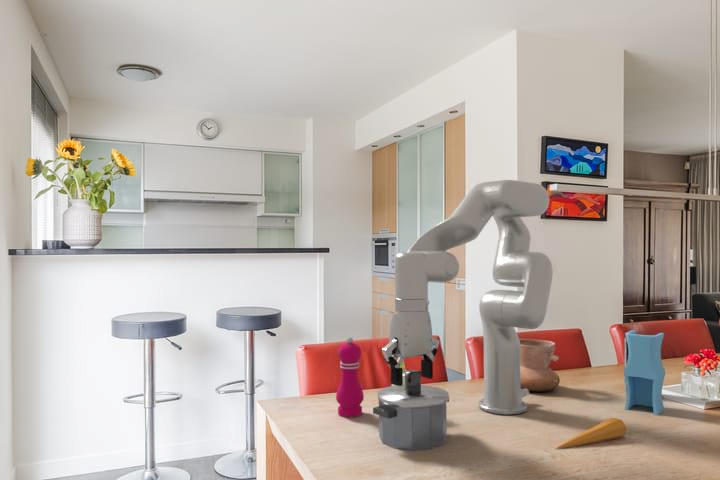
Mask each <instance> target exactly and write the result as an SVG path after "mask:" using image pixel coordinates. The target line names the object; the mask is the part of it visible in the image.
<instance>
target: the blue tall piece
mask: <svg viewBox="0 0 720 480" xmlns="http://www.w3.org/2000/svg"><path fill="white" fill-rule="evenodd" d="M664 336H665V332H660V333H657V334H654V335H647V334H637V332H636V330H635V329H632V330H629V331H627V332H625V337H626V338H627V343H628V350H629V355H628V361H627V364H626V367H625V366H624V369H623V370H624V371H623V377H624V382H625V381H626V386H627V396H626V401H625V406H624V410H630V409H631V408H632V407H634V406H635V405H636V406H638V405H639V406H644V407H645V406H646V407H650V408H652V409H653V415H654V416H659V415H660V414H661V413H662V412H664V410H665V407H664V402H663V385H664V381H665V376H666V369H665V367H664V364H663V360H662V345H663V344H662V342H663V340H664Z"/></svg>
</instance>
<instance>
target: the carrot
mask: <svg viewBox="0 0 720 480" xmlns="http://www.w3.org/2000/svg"><path fill="white" fill-rule="evenodd" d="M627 432H628V431H627V425H626V423H624V421H623V420H622V419H620V418H616V417H615V418H614V417H611V418H609V419H606V420H604V421H602V422H601V423H599V424H597V425H594V426H593V427H591V428H589V429H587V430H586V431H583V432H581V433H579V434H577V435H575V436H573V437H572V438H570V439H568V440H567V441H565V442H563V443H562V444H561V445H559V446H557V447H556V448H555V449H564V448H570V447H571V448H572V447H579V446H584V445H589V444H594V443H600V442H606V441H611V440H616V439H621V438H622V437H623V436H624V435H625V434H626V433H627ZM555 449H554V450H555Z"/></svg>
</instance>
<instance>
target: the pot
mask: <svg viewBox="0 0 720 480" xmlns="http://www.w3.org/2000/svg"><path fill="white" fill-rule="evenodd" d="M449 402H450V399H449V400H448V402H447V403H449ZM447 403H445V404H443V405H441V406H437V407H431V408H420V409H412V408H400V407H394V406H390V405H387V404H384V403H382V402H380V401H379V400H378V406H375V407H372V413H373V414H374V415H377V416H378V437H379V439H380V440H381V442H382V444H384V445H387V446H389V447H392V448H394V449H399V450H407V451H421V450H422V451H425V450H432V449H435V448H437V447H441V446H443V445H444V444H445V442H446V441H447V438H448V437H447V435H448V434H447V433H448V431H447V427H448V425H447Z"/></svg>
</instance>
